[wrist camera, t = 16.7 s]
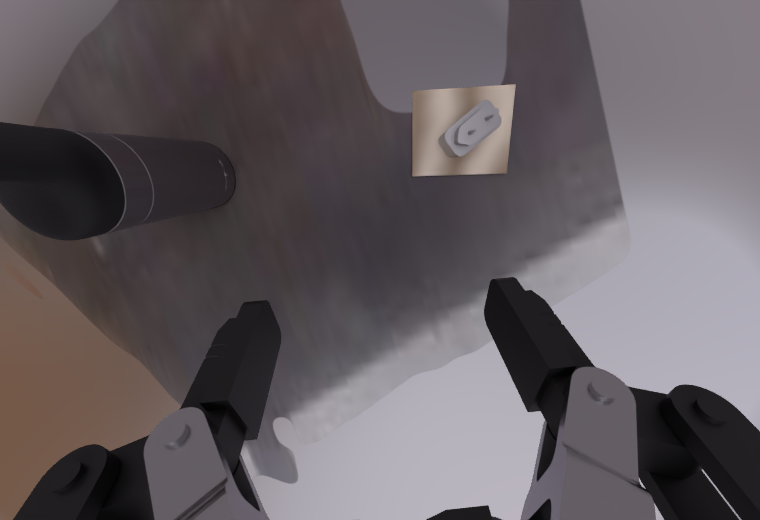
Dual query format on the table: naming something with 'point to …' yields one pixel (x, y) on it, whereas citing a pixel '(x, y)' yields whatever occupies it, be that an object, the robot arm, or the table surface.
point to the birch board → (443, 111)
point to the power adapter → (470, 129)
